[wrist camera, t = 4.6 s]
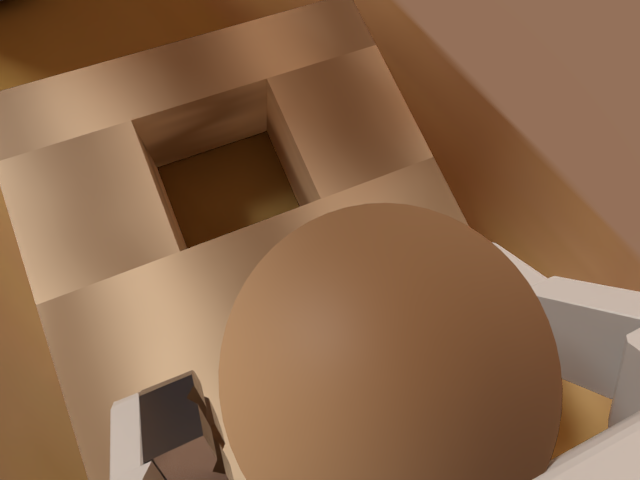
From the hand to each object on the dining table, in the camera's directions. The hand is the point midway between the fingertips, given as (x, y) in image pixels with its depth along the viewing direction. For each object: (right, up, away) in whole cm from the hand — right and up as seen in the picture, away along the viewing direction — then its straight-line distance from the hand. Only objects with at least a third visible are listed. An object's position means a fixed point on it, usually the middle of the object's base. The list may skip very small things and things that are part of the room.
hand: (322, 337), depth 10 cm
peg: (0, -2, +5) cm, 5 cm away
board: (-3, +1, +10) cm, 10 cm away
